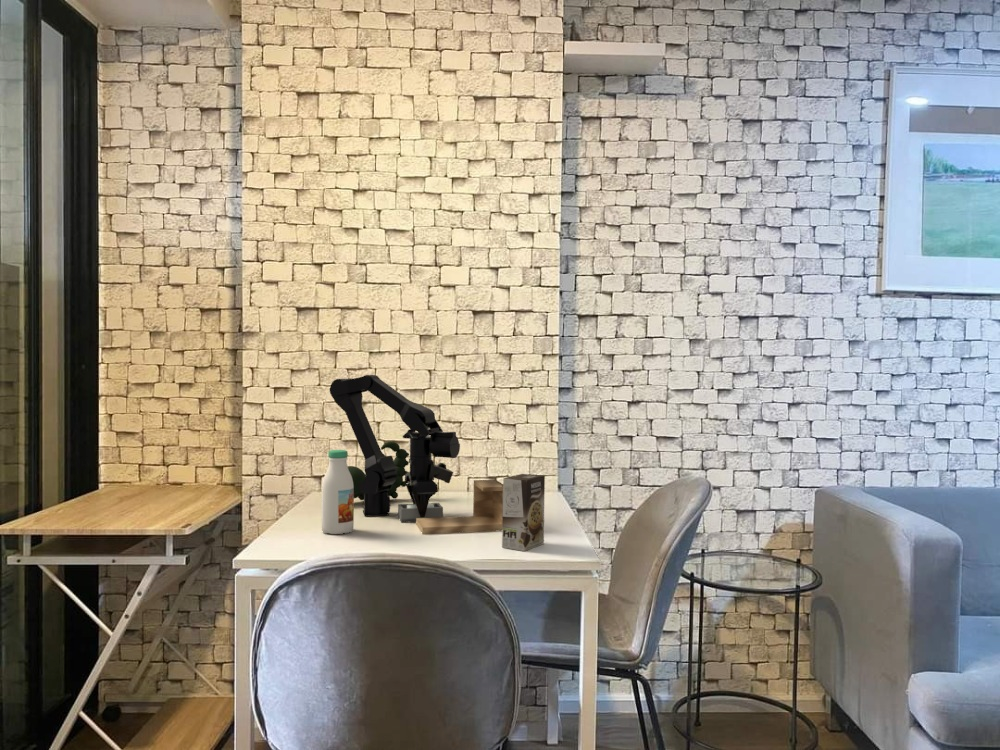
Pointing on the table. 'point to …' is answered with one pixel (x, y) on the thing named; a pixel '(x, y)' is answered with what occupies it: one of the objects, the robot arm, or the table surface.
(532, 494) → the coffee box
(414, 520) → the tray
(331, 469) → the milk bottle
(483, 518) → the wooden l-shaped stand
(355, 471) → the toy figurine
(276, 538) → the table surface
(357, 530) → the table surface
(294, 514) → the table surface
